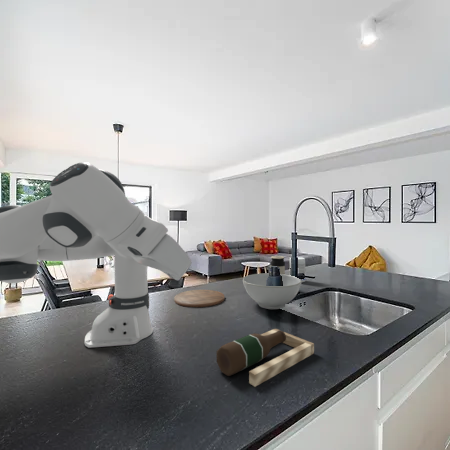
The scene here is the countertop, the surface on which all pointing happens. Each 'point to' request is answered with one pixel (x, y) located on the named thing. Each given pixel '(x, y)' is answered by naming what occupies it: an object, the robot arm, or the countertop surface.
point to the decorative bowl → (271, 290)
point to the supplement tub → (300, 266)
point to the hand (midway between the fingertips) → (177, 276)
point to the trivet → (199, 298)
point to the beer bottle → (246, 351)
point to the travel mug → (278, 263)
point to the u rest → (282, 359)
